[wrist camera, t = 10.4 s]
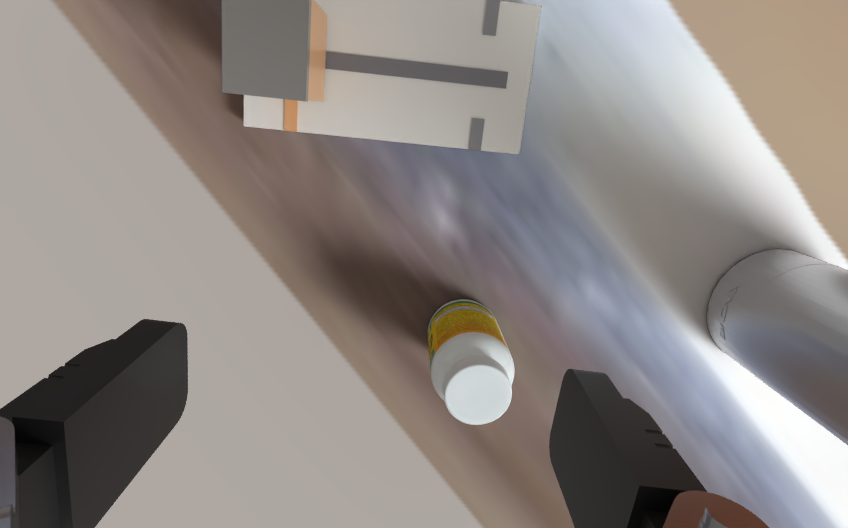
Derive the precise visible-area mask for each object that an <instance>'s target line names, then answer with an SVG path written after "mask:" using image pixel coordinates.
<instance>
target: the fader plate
mask: <svg viewBox="0 0 848 528" xmlns="http://www.w3.org/2000/svg"><path fill="white" fill-rule="evenodd" d="M315 1H316V2H317V3H318V5H319V6H320V7H321V8H322V10H323V11H324V12H325V13H326V15H327V37H326V59H325V82H324V102H319V101H309V100H308V102H306V101H297V100H288V99H278V98H269V97H259V96H250V95H244V126H247V127H257V128H267V129H276V130H285V131H295V132H305V133H315V134H325V135H334V136H344V137H354V138H364V139H373V140H383V141H393V142H402V143H412V144H422V145H432V146H441V147H451V148H461V149H469V150H479V151H490V152H500V153H509V154H519V153H520V146H521V139H522V133H523V126H524V119H525V113H526V106H527V100H528V93H529V86H530V80H531V73H532V67H533V60H534V53H535V47H536V40H537V34H538V27H539V20H540V14H541V7H542V6H539V5H531V4H523V3H514V2H506V1H500V0H315Z"/></svg>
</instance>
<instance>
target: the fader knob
mask: <svg viewBox="0 0 848 528" xmlns="http://www.w3.org/2000/svg"><path fill="white" fill-rule="evenodd" d="M326 37H327V15H326V13H325V12H324V11H323V10H322V8H321V7H320V6H319V5H318V3H317V2H316V1H315V0H222V93H231V94H241V95H250V96H259V97H269V98H278V99H288V100H297V101H306V102H308V100H309V101H319V102H324V82H325V59H326Z"/></svg>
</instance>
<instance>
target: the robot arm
mask: <svg viewBox="0 0 848 528" xmlns="http://www.w3.org/2000/svg"><path fill="white" fill-rule="evenodd" d="M707 322H708V328H709V331H710V334H711V337H712V338H713V340H714V342H715V343H716V345H717V346H718V347H719V348H720V349H721V350H722V351H723V352H724V353H726V354H727V355H728V356H730V357H731V358H732V359H734V360H735V361H736V362H738V363H739V364H740V365H742V366H743V367H744V368H746V369H747V370H748V371H750V372H751V373H752V374H754V375H755V376H756V377H757V378H759V379H760V380H761V381H763V382H764V383H765V384H767V385H768V386H769V387H771V388H772V389H773V390H775V391H776V392H777V393H779V394H780V395H781V396H783V397H784V398H785V399H787V400H788V401H789V402H791V403H792V404H793V405H795V406H796V407H797V408H799V409H800V410H801V411H803V412H804V413H805V414H807V415H808V416H809V417H811V418H812V419H814V420H815V421H816V422H818V423H819V424H820V425H822V426H823V427H824V428H826V429H827V430H828V431H830V432H831V433H832V434H834V435H835V436H836V437H838V438H839V439H840V440H842V441H843V442H844V443H846V444H847V445H848V270H846V269H843V268H841V267H838V266H836V265H833V264H830V263H827V262H824V261H821V260H818V259H815V258H812V257H809V256H807V255H804V254H801V253H798V252H795V251H792V250H784V249H775V250H766V251H762V252H759V253H756V254H753V255H751V256H749V257H747V258H745V259H743V260H741V261H740V262H739V263H737V264H736V265H735V266H733V267H732V268H731V269H730V270H729V271H728V272H727V273H726V274H725V275H724V276H723V277H722V278H721V279H720V281H719V283H718V284H717V286H716V287H715V289H714V291H713V293H712V296H711V298H710V301H709V305H708V311H707ZM187 364H188V360H187V330H186V327H185V326H184V324H182V323H175V322H166V321H158V320H149V319H143V320H141V321H140V322H138V323H137V324H136V325H134V326H133V327H132V328H130V329H129V330H128V331H126V332H125V333H123V334H122V335H121V336H119V337H118V338H117V339H111V340H109V341H106V342H103V343H101V344H98V345H95V346H93V347H90V348H88V349H85V350H84V351H82V352H81V353H79V354H78V355H76V356H75V357H74V358H72V359H71V360H69V361H68V362H67V363H65V366H61V367H59V368H58V369H57V370H55V371H54V372H52V373H51V374H49V377H48V378H44V379H42V380H41V381H40V382H38V383H37V384H36V385H34V386H32V387H31V388H30V389H28V390H27V391H25V392H24V393H23V394H21V395H20V396H18V397H17V398H15V399H14V400H13V401H11V402H10V403H8V404H7V405H6V406H4V407H3V408H1V409H0V528H94V527H95V526H96V525H97V524H98V522H99V521H100V520H101V519H102V517H103V516H104V515H105V513H106V512H107V511H108V510H109V509H110V507H111V506H112V505H113V504H114V502H115V501H116V499H118V497H119V496H120V495H121V493H122V492H123V491H124V489H125V488H126V487H127V486H128V485H129V483H130V482H131V481H132V479H133V478H134V477H135V476H136V474H137V473H138V472H139V471H140V469H141V468H142V467H143V465H144V464H145V463H146V462H147V461H148V459H149V458H150V457H151V455H152V454H153V453H154V452H155V450H156V449H157V448H158V447H159V445H160V444H161V443H162V442H163V440H164V439H165V438H166V436H167V435H168V434H169V433H170V431H171V430H172V429H173V428H174V426H175V425H176V424H177V422H178V421H179V419H180V418H181V415H182V413H183V411H184V408H185V404H186V400H187V393H188V374H187V373H188V365H187ZM672 446H673V445H672V444H671V442H670V441H669V440H668V438H667V437H666V436H665V435H664V434H662V430H661V429H660V428H659V426H658V425H657V424H656V422H655V421H654V420H653V418H652V417H651V416H650V414H648V413H647V412H646V411H644V410H643V409H642V408H641V407H639V406H638V405H637V404H635V403H634V402H633V401H631V400H630V399H625V398H623V397H622V396H621V395H620V393H619V392H618V390H617V389H616V387H615V386H614V384H613V383H612V382H611V380H610V379H609V377H608V376H607V375H606V374H605V373H601V372H592V371H584V370H575V369H568V370H567V371H566V373H565V375H564V377H563V381H562V385H561V389H560V394H559V398H558V402H557V407H556V411H555V415H554V420H553V424H552V428H551V433H550V444H549V448H550V459H551V463H552V466H553V469H554V471H555V474H556V477H557V480H558V482H559V485H560V488H561V491H562V493H563V496H564V499H565V502H566V505H567V507H568V510H569V513H570V516H571V518H572V521H573V524H574V527H575V528H769V527H768V526H767V525H766V524H765V523H764V522H763V521H762V520H761V519H760V518H759V517H757V516H756V515H755V514H753V513H752V512H751V511H749V510H748V509H746V508H745V507H743V506H741V505H740V504H738V503H736V502H734V501H732V500H730V499H727V498H725V497H723V496H720V495H717V494H714V493H709V492H707V491H706V489H705V488H704V487H703V485H702V484H701V483H700V481H699V480H698V479H697V477H696V476H695V475H694V473H693V472H692V471H691V469H690V468H689V467H688V465H687V464H686V463H685V461H684V460H683V459H682V457H681V456H680V455H679V453H678V452H677V450H676V449H673V447H672Z"/></svg>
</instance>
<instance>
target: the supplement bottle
mask: <svg viewBox="0 0 848 528" xmlns="http://www.w3.org/2000/svg"><path fill="white" fill-rule="evenodd" d="M428 345H429V357H430V370H431V379H432V383H433V386H434V388H435V390H436V392H437V393H438V395H439V396H440V397H441V398H442V399H443V400H444V401H445V404H446V407H447V408H448V410H449V412H450V413H451V414H452V415H453V416H454V417H455V418H456V419H458V420H460V421H462V422H464V423H467V424H472V425H480V424H486V423H489V422H492V421H494V420H496V419H497V418H499V417H500V416H501V415H502V414H503V413H504V412H505V411H506V410H507V408H508V406H509V404H510V402H511V397H512V388H511V385H512V382H513V379H514V363H513V359H512V357H511V354H510V352H509V350H508V347H507V345H506V343H505V340H504V338H503V335H502V333H501V331H500V328H499V326H498V324H497V321H496V319H495V317H494V315H493V314H492V313H491V311H490V310H489V309H488V308H486V307H485V306H483V305H482V304H480V303H478V302H475V301H472V300H465V299H460V300H454V301H451V302H449V303H446V304H444V305H443V306H441V307H440V308H439V309H438V310H437V311H436V312H435V314H434V315H433V317H432V319H431V321H430V323H429V327H428Z"/></svg>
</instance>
